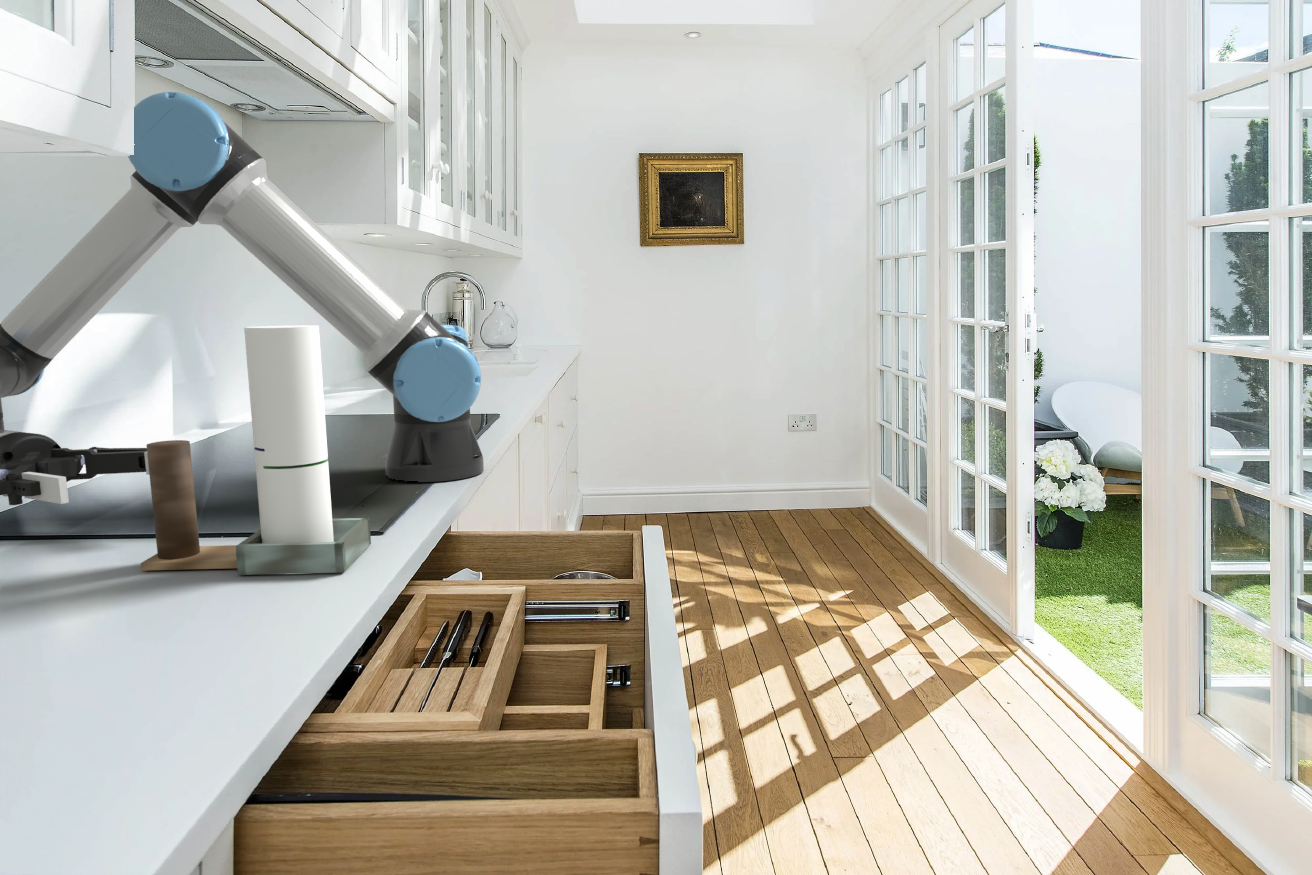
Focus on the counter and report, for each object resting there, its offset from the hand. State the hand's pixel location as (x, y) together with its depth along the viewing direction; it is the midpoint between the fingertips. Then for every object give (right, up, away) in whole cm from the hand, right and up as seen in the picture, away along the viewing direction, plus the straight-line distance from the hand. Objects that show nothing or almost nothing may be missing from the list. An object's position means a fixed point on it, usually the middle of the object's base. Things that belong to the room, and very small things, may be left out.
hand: (127, 478), depth 99 cm
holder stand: (+15, -9, -2) cm, 17 cm away
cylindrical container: (+19, -9, -2) cm, 21 cm away
